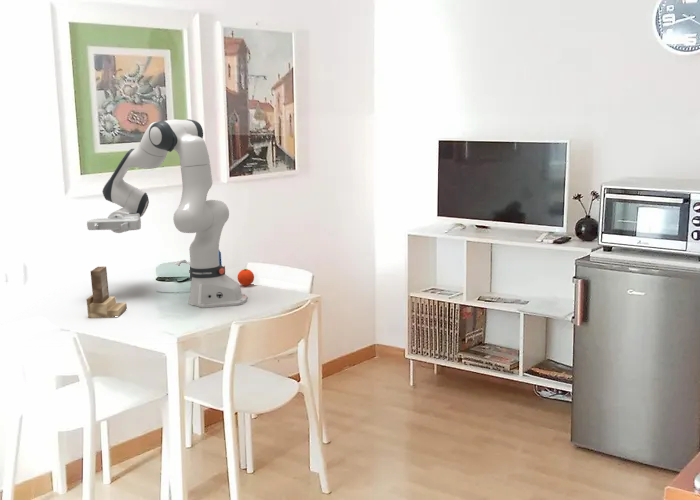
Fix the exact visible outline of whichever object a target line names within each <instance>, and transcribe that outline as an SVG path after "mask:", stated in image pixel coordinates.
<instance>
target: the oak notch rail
mask: <svg viewBox="0 0 700 500" xmlns="http://www.w3.org/2000/svg"><path fill="white" fill-rule="evenodd" d="M116 300H117V298H116V296H109V298H108V299H107V300H106V301H104V302H103V303H93V294H92V295H90V296H89V297H88V298H86V307H87V318H89V319H91V318H92V319H95V318H96V319H97V318H99V319H101V318H100V317H103V318H116V317H115V316H119V315H120V314H121V313H122V314H123V313H125V311H126V309H127V310H128V306H127V302H116ZM122 314H121V315H122ZM121 315H120V316H121ZM120 316H119V317H120Z"/></svg>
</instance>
